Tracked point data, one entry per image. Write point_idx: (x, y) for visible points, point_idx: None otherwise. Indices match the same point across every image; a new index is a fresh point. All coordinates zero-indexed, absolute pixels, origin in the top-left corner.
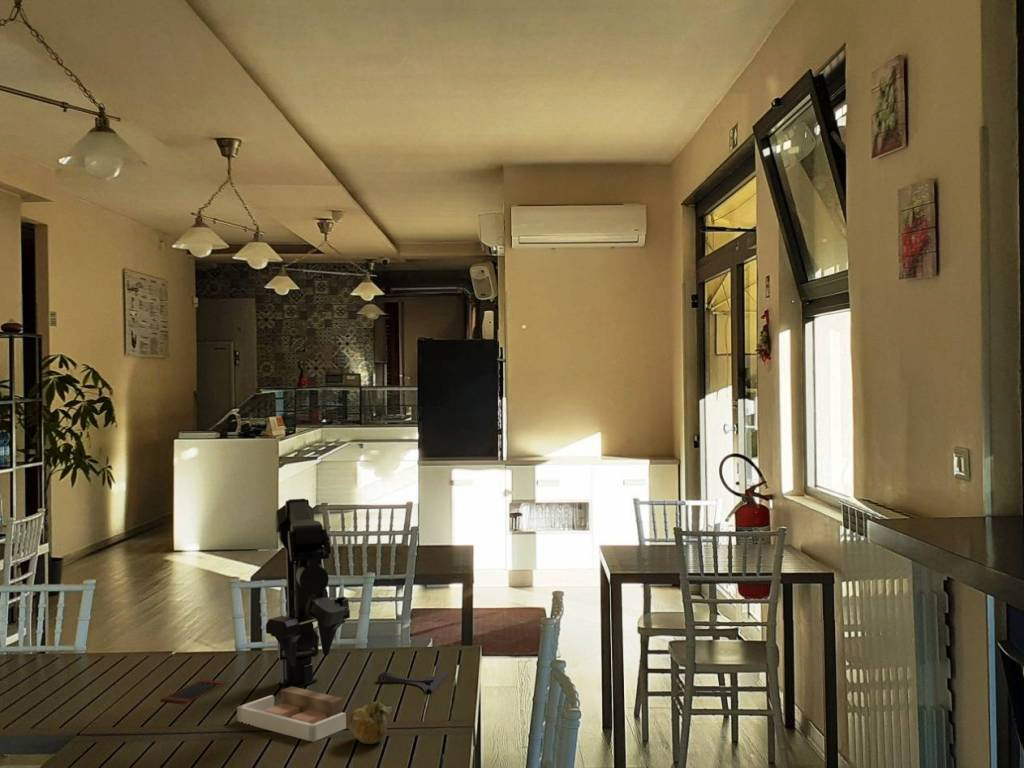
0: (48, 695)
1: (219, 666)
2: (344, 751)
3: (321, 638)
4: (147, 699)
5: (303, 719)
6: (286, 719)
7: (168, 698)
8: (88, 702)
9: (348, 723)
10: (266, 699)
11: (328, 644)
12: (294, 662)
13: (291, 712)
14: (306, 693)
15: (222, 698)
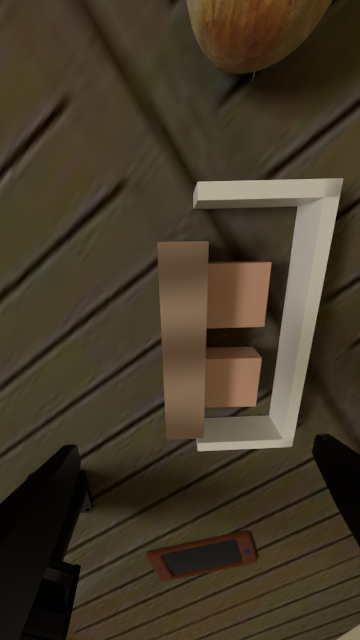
0: (302, 633)
1: (100, 604)
2: (341, 31)
3: (20, 618)
4: (259, 570)
5: (268, 282)
6: (319, 296)
7: (252, 557)
8: (302, 599)
9: (322, 15)
10: (219, 440)
11: (28, 512)
12: (347, 446)
13: (227, 356)
14: (187, 370)
15: (199, 515)
